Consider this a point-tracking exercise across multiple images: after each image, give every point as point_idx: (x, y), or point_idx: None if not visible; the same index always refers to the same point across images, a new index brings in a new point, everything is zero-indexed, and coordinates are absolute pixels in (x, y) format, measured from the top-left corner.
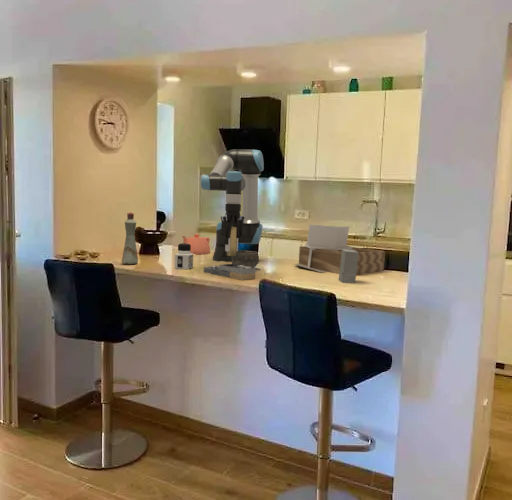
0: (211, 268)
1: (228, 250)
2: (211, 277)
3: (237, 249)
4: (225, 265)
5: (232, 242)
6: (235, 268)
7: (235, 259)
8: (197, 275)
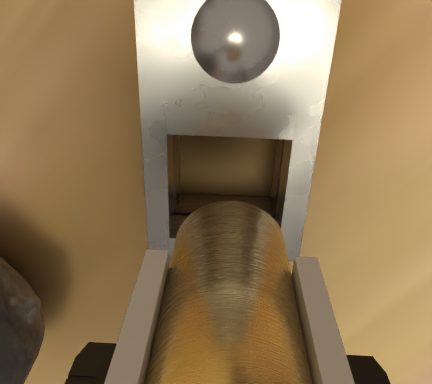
0: None
1: (319, 273)
2: (412, 166)
3: (148, 265)
4: (285, 205)
5: (281, 355)
6: (337, 19)
7: (27, 341)
8: (412, 271)
